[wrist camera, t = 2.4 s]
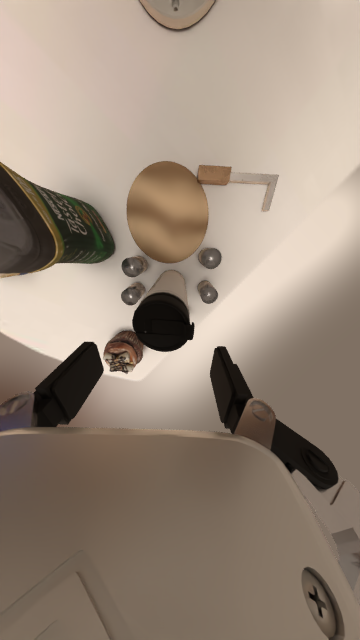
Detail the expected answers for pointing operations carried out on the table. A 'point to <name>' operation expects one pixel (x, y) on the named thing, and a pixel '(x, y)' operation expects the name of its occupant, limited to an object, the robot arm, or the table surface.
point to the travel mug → (164, 314)
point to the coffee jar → (46, 227)
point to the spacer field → (139, 265)
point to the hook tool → (237, 180)
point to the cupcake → (123, 352)
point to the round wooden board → (167, 212)
